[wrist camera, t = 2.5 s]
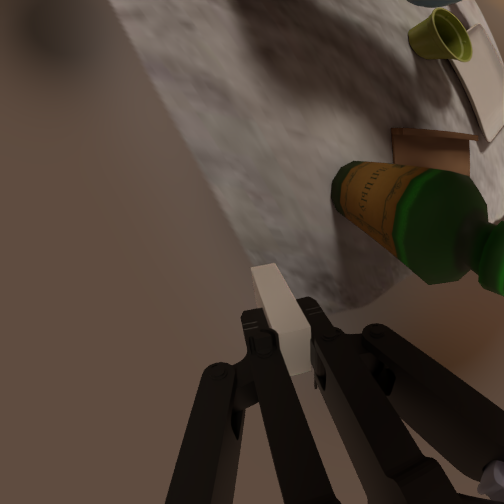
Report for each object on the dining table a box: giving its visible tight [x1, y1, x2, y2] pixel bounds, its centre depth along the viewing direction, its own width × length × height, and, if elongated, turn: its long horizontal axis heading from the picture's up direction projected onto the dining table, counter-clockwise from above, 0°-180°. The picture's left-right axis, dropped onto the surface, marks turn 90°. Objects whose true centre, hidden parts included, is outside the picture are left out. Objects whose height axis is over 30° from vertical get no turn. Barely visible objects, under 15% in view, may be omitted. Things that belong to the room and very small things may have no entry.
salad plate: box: [449, 23, 504, 142], centre depth 30 cm, size 21×21×3 cm
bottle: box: [331, 161, 504, 296], centre depth 24 cm, size 11×11×28 cm
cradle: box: [391, 128, 478, 177], centre depth 37 cm, size 18×20×3 cm
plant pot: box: [408, 8, 473, 62], centre depth 24 cm, size 9×9×9 cm
